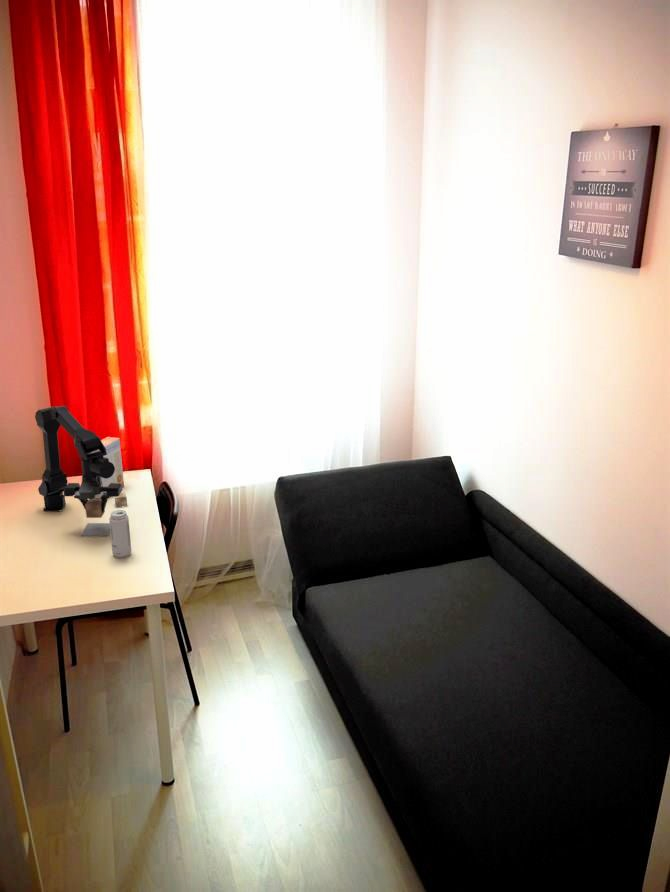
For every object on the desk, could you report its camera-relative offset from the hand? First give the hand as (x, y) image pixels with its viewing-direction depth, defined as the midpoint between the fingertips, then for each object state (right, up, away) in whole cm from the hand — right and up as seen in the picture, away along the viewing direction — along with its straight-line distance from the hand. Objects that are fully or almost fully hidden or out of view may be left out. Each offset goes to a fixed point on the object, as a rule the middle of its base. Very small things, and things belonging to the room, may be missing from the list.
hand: (95, 512), depth 261 cm
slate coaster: (0, -7, +2) cm, 7 cm away
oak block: (+2, +1, +23) cm, 23 cm away
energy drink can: (+13, -13, -14) cm, 23 cm away
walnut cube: (0, -1, 0) cm, 1 cm away
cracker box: (-6, +5, +34) cm, 35 cm away
